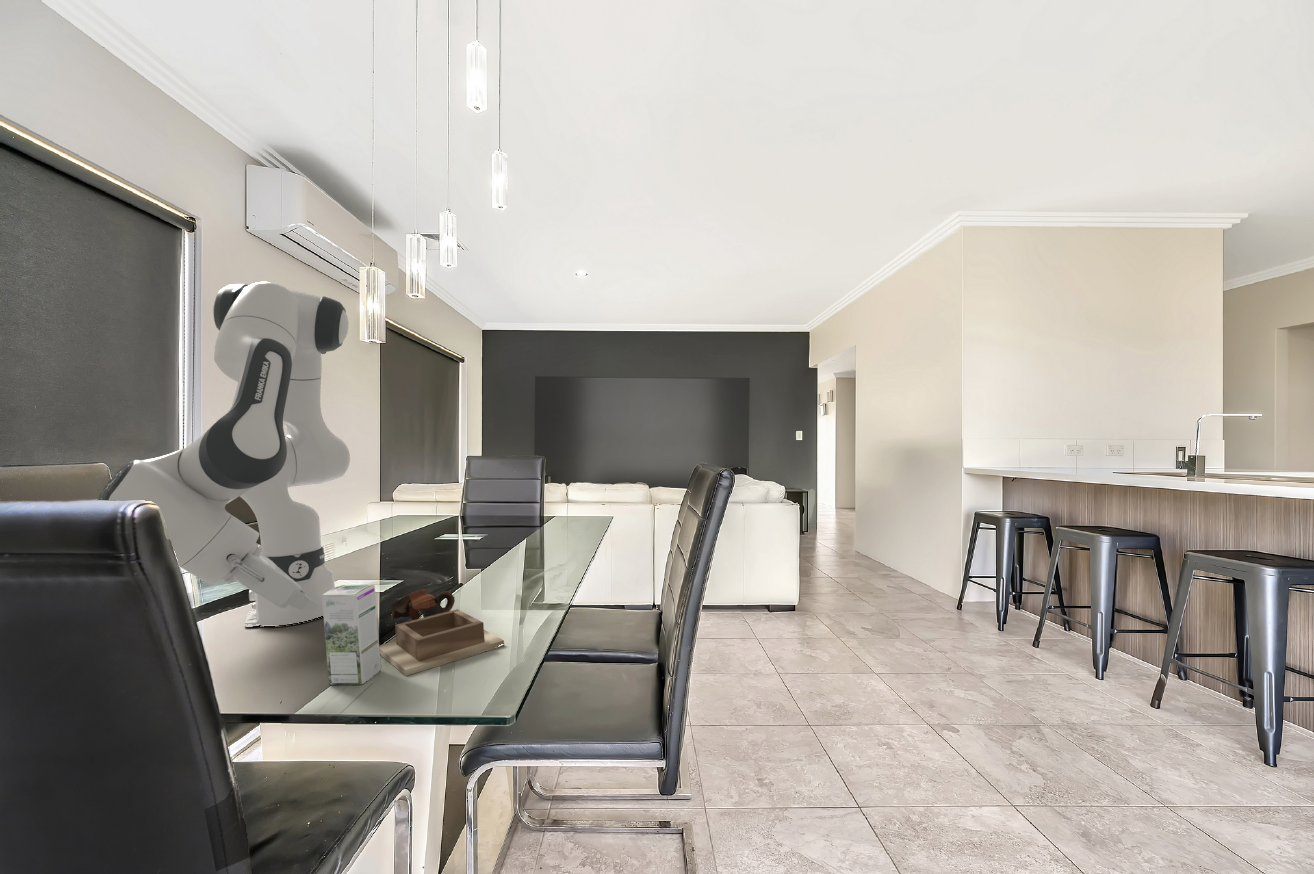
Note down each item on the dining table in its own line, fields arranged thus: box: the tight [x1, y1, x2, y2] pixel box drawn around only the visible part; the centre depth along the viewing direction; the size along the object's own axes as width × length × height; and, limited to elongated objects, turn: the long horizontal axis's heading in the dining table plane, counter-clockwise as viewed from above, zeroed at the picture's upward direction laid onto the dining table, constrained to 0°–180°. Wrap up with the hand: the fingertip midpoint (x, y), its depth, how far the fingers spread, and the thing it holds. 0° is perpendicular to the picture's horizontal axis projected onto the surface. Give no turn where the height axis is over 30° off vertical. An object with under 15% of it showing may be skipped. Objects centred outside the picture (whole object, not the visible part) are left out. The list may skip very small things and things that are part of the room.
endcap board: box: [379, 608, 505, 677], centre depth 108 cm, size 15×17×4 cm
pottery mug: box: [390, 588, 456, 621], centre depth 123 cm, size 12×10×8 cm
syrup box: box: [322, 583, 382, 686], centre depth 97 cm, size 6×6×14 cm
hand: (307, 603), depth 93 cm, fingers open, 8 cm apart
